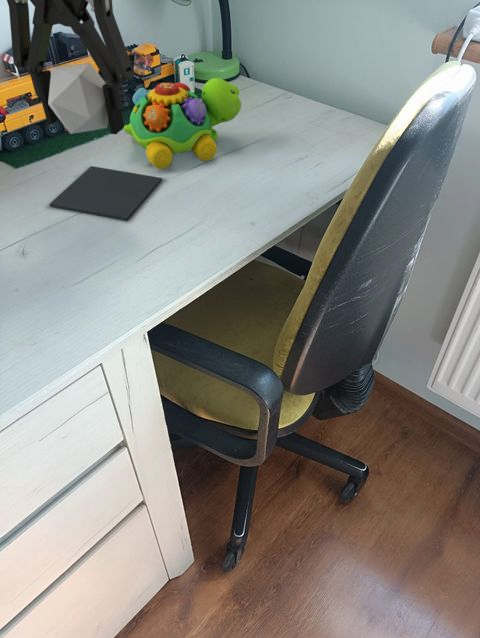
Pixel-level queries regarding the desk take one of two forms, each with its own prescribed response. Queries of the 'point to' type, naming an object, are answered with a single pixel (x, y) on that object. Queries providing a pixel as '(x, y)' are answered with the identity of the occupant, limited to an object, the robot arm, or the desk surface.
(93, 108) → the die
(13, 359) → the desk surface
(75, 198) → the mat
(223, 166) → the desk surface
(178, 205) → the desk surface
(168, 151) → the turtle toy
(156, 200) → the desk surface
